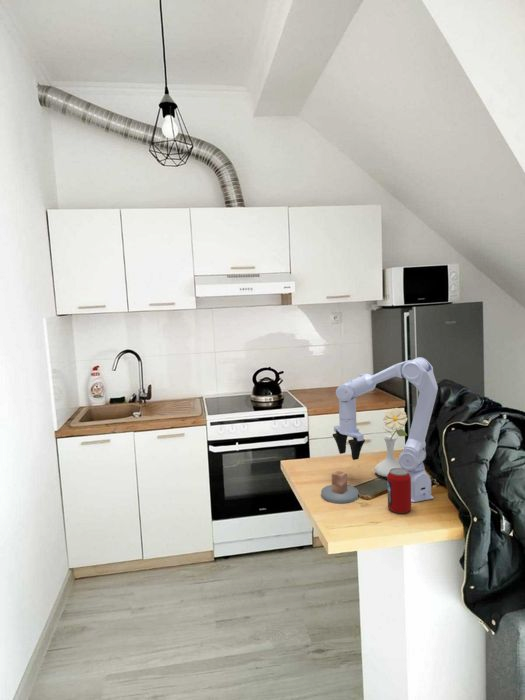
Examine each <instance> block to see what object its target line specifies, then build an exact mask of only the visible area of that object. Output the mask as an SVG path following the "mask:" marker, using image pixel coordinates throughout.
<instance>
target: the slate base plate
mask: <svg viewBox="0 0 525 700" xmlns="http://www.w3.org/2000/svg"><path fill="white" fill-rule="evenodd" d="M320 493H321V498H322V499H323V500H324V501H326V502H328V503H332V504H349V503H353V502H355V500H356V501H357V500H358V499H359V497H358V494H359V489H357V487H354V486H353V485H349V484H347V491H346V492H345V493H343V494H339V493H335V492H332V484H330V485H326V486H324V487H322V488H321V490H320ZM359 495H360V494H359Z"/></svg>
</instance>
